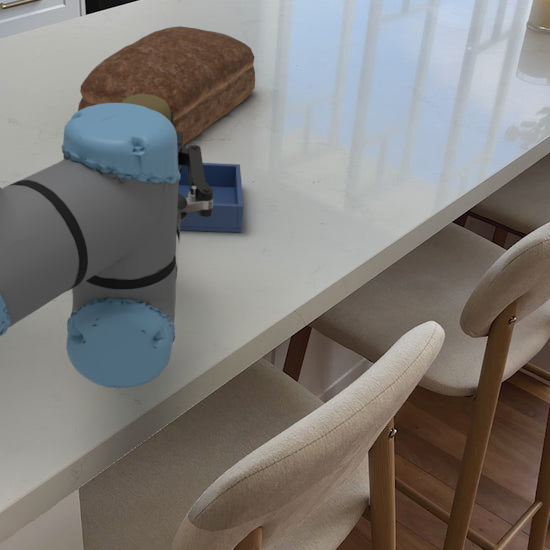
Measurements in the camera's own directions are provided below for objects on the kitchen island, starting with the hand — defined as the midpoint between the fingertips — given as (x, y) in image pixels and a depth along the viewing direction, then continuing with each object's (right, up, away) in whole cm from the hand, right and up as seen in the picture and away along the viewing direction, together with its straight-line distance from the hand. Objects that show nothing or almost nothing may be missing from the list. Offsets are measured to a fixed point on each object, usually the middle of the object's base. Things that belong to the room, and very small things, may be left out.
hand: (151, 122), depth 94 cm
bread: (-3, +10, +46) cm, 47 cm away
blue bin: (+3, -7, +22) cm, 23 cm away
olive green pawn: (-1, -8, -1) cm, 8 cm away
